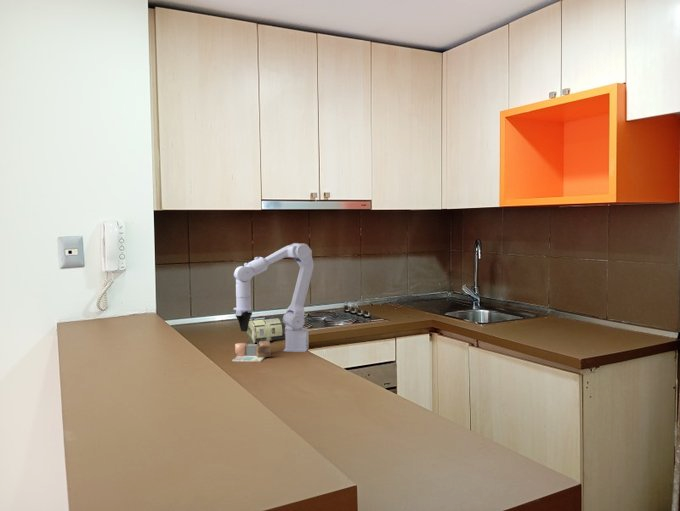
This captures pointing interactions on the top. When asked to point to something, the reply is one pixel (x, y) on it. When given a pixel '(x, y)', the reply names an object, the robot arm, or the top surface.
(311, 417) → the top surface
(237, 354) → the peach glossy domed part
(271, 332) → the coffee can
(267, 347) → the walnut block
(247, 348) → the matte grey cube
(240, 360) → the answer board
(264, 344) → the peach rounded cylinder
